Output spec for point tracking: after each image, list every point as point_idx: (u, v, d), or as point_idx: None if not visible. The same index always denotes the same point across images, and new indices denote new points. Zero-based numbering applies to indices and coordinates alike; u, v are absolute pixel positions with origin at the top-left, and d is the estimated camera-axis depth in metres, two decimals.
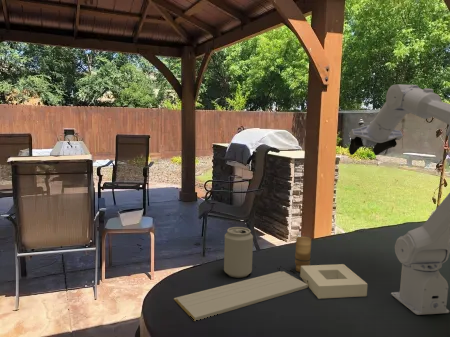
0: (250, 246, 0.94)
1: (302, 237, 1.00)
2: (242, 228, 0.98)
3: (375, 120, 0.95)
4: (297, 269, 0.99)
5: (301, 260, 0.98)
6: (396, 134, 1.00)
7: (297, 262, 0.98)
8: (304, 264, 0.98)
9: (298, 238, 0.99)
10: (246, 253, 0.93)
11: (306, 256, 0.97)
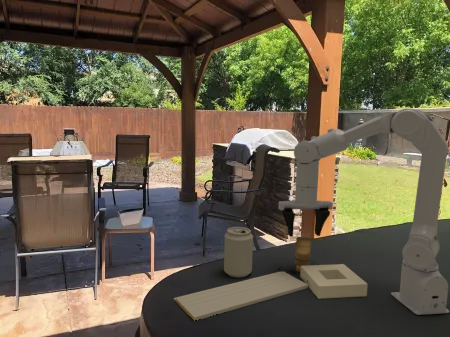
0: (250, 246, 0.94)
1: (302, 237, 1.00)
2: (242, 228, 0.98)
3: (296, 185, 0.97)
4: (297, 269, 0.99)
5: (301, 260, 0.98)
6: None
7: (297, 262, 0.98)
8: (304, 264, 0.98)
9: (298, 238, 0.99)
10: (246, 253, 0.93)
11: (307, 256, 0.97)
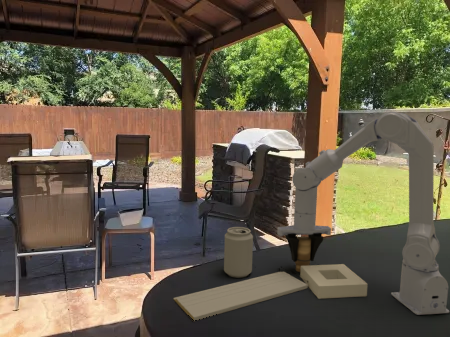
0: (250, 246, 0.94)
1: (302, 237, 1.00)
2: (242, 228, 0.98)
3: (294, 211, 0.98)
4: (297, 269, 0.99)
5: (301, 260, 0.98)
6: None
7: (297, 262, 0.98)
8: (304, 264, 0.98)
9: (298, 238, 0.99)
10: (246, 253, 0.93)
11: (306, 256, 0.97)
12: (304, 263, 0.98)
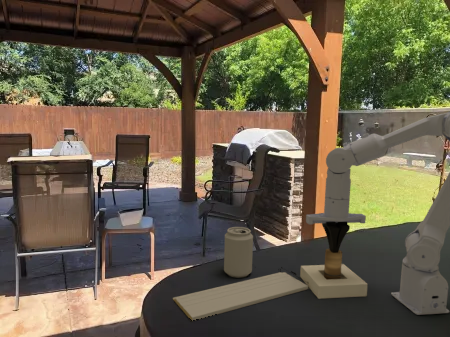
0: (250, 246, 0.94)
1: None
2: (242, 228, 0.98)
3: (325, 197, 0.88)
4: None
5: (332, 275, 0.88)
6: (358, 216, 0.89)
7: (327, 277, 0.89)
8: None
9: (328, 251, 0.90)
10: (246, 253, 0.93)
11: (338, 271, 0.88)
12: (335, 278, 0.88)
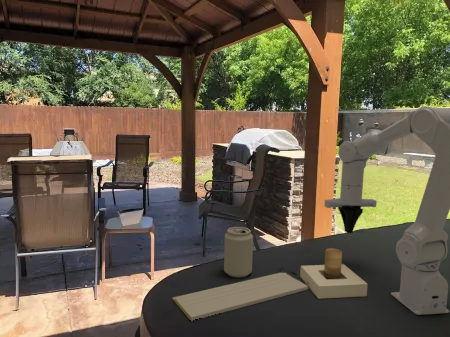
0: (250, 246, 0.94)
1: (331, 249, 0.91)
2: (242, 228, 0.98)
3: (341, 184, 1.01)
4: None
5: (332, 275, 0.88)
6: None
7: (327, 277, 0.89)
8: None
9: (328, 250, 0.90)
10: (246, 253, 0.93)
11: (338, 271, 0.88)
12: (335, 278, 0.88)
